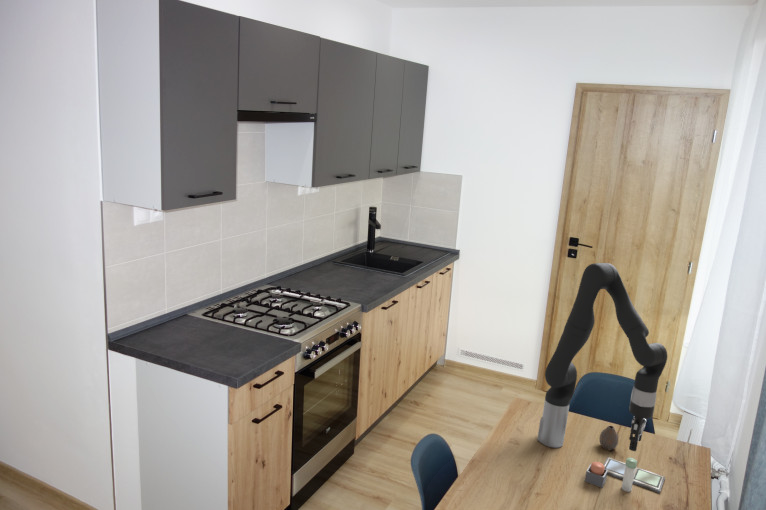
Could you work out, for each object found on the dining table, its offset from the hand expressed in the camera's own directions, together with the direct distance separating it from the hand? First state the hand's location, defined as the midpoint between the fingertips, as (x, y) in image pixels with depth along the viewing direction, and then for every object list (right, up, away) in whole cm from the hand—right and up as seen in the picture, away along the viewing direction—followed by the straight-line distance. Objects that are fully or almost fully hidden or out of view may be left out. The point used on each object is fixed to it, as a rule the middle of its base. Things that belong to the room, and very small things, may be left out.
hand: (634, 445), depth 205 cm
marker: (-1, -16, +4) cm, 17 cm away
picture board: (+4, -15, +12) cm, 20 cm away
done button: (-11, -12, +7) cm, 17 cm away
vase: (+2, -11, +31) cm, 32 cm away
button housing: (-11, -15, +7) cm, 20 cm away
